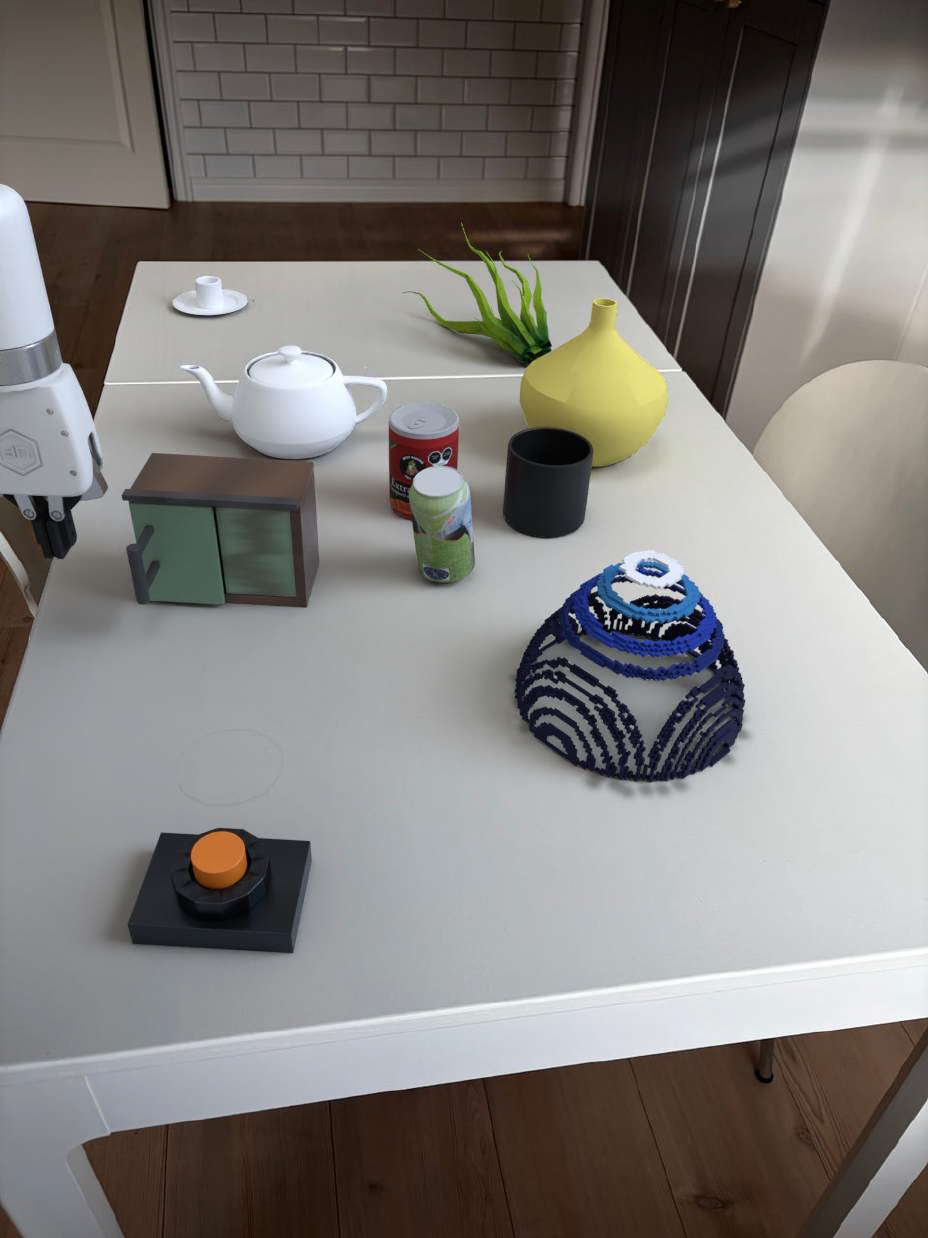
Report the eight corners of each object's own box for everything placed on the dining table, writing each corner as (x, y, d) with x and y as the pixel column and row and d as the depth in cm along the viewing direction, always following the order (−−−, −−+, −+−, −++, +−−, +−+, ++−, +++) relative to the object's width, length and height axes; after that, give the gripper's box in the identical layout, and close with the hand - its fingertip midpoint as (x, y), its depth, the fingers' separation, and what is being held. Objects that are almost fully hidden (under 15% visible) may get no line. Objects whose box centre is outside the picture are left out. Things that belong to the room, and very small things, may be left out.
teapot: (389, 414, 133) (388, 326, 126) (386, 471, 121) (385, 377, 113) (200, 411, 132) (188, 321, 124) (178, 468, 119) (164, 372, 112)
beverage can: (484, 567, 105) (491, 467, 98) (448, 601, 100) (452, 499, 93) (434, 549, 108) (437, 450, 100) (397, 581, 103) (396, 479, 95)
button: (187, 888, 67) (184, 871, 66) (201, 846, 70) (198, 829, 69) (241, 891, 67) (238, 874, 66) (252, 849, 70) (249, 832, 69)
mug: (579, 486, 120) (588, 418, 114) (587, 540, 110) (597, 468, 105) (501, 483, 120) (506, 414, 114) (503, 537, 110) (508, 464, 105)
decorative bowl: (784, 705, 90) (826, 574, 81) (650, 819, 78) (682, 682, 69) (612, 605, 101) (632, 481, 92) (472, 692, 89) (480, 560, 80)
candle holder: (174, 293, 166) (171, 267, 163) (247, 292, 168) (245, 266, 165) (171, 320, 156) (167, 293, 154) (248, 318, 158) (246, 291, 156)
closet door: (130, 633, 93) (109, 534, 86) (148, 596, 98) (130, 499, 91) (210, 638, 93) (196, 539, 86) (225, 601, 98) (212, 504, 91)
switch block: (132, 944, 67) (122, 908, 65) (164, 851, 74) (157, 815, 71) (293, 954, 67) (289, 918, 65) (312, 860, 74) (309, 824, 71)
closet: (142, 606, 97) (121, 494, 90) (168, 553, 105) (150, 446, 97) (304, 615, 97) (296, 504, 90) (319, 562, 105) (313, 455, 97)
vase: (669, 486, 121) (698, 334, 109) (519, 481, 120) (532, 328, 108) (646, 419, 135) (669, 279, 124) (512, 414, 135) (523, 273, 123)
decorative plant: (505, 300, 170) (511, 211, 161) (553, 370, 147) (564, 270, 138) (401, 303, 166) (402, 212, 158) (434, 375, 143) (437, 273, 135)
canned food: (379, 514, 113) (378, 426, 106) (403, 482, 119) (403, 397, 112) (443, 527, 111) (446, 439, 104) (464, 493, 117) (468, 408, 111)
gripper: (-110, 370, 74) (-42, 570, 86) (87, 379, 74) (130, 578, 86) (-64, 332, 80) (-6, 524, 92) (119, 340, 80) (155, 531, 91)
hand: (60, 550), depth 89 cm, fingers closed
